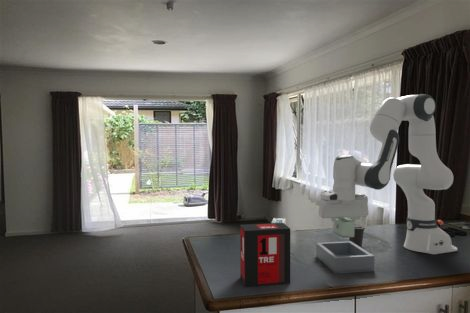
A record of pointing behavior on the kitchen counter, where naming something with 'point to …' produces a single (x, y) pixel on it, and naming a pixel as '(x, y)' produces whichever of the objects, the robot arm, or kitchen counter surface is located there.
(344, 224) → the small crate
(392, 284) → the kitchen counter surface
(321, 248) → the large crate
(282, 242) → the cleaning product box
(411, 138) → the robot arm
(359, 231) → the coffee cup
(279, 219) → the light bulb box
